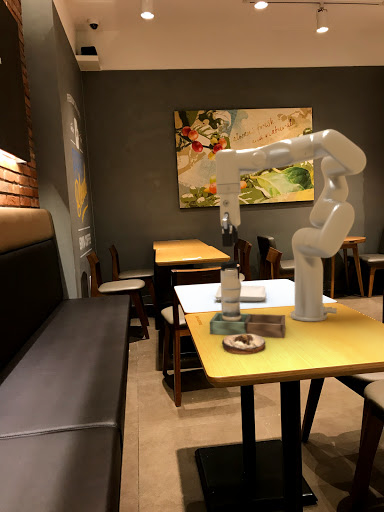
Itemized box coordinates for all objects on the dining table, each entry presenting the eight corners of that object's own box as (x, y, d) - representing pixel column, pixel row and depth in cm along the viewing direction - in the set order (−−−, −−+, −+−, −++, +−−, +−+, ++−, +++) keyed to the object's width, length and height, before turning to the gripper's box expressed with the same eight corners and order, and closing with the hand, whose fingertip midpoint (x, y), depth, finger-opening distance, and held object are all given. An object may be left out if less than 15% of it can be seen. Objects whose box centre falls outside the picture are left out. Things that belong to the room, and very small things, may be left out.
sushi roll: (217, 339, 122) (216, 326, 122) (266, 338, 121) (266, 325, 121) (217, 358, 108) (217, 343, 107) (273, 357, 107) (273, 342, 106)
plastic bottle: (228, 325, 135) (227, 266, 132) (246, 328, 131) (245, 268, 128) (217, 330, 130) (216, 269, 127) (235, 333, 126) (234, 271, 123)
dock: (285, 326, 131) (285, 315, 130) (283, 337, 120) (283, 325, 120) (216, 323, 137) (216, 312, 136) (209, 333, 126) (209, 321, 126)
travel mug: (238, 316, 145) (237, 262, 142) (220, 315, 146) (219, 262, 144) (240, 311, 151) (239, 259, 148) (222, 311, 152) (221, 259, 150)
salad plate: (266, 304, 162) (266, 296, 162) (214, 303, 166) (214, 295, 165) (265, 292, 183) (265, 285, 183) (219, 292, 186) (219, 285, 186)
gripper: (236, 189, 115) (238, 247, 117) (244, 190, 132) (246, 241, 134) (210, 190, 117) (213, 248, 119) (222, 191, 134) (224, 242, 136)
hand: (230, 244), depth 127 cm, fingers open, 9 cm apart
